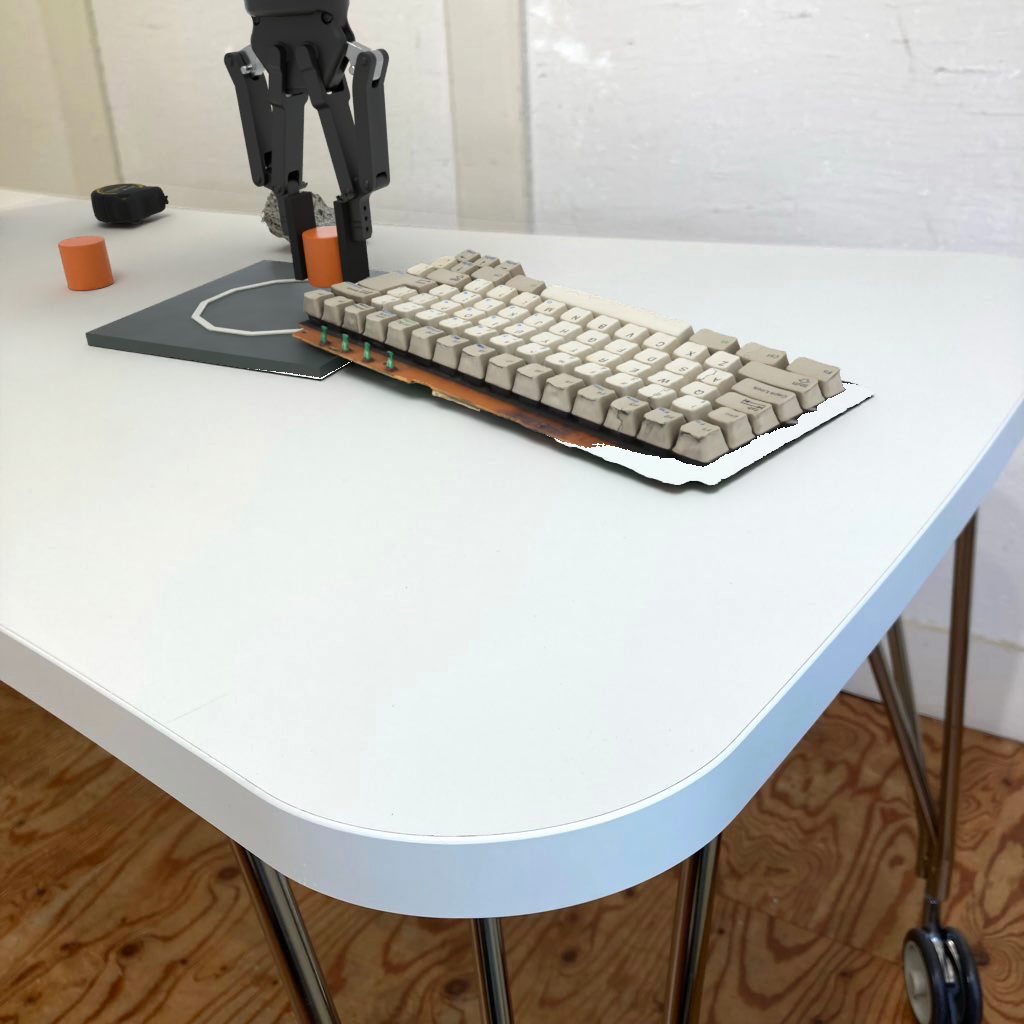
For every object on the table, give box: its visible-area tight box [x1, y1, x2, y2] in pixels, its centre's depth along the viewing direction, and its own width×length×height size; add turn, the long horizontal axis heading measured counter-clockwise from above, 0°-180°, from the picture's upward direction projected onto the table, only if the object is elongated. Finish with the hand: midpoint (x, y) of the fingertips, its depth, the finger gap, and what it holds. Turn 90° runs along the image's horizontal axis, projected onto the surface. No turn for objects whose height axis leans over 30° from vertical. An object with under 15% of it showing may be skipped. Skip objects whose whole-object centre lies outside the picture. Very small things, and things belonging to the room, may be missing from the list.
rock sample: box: [260, 189, 336, 244], centre depth 106 cm, size 10×8×9 cm
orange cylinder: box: [57, 235, 115, 291], centre depth 97 cm, size 4×4×4 cm
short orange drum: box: [302, 226, 343, 288], centre depth 85 cm, size 4×4×4 cm
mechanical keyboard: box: [292, 248, 859, 467], centre depth 72 cm, size 38×19×3 cm, turn 46°
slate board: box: [85, 259, 392, 378], centre depth 86 cm, size 22×22×1 cm
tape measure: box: [90, 183, 169, 225], centre depth 119 cm, size 7×7×4 cm
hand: (332, 277), depth 86 cm, fingers closed on short orange drum, 4 cm apart
